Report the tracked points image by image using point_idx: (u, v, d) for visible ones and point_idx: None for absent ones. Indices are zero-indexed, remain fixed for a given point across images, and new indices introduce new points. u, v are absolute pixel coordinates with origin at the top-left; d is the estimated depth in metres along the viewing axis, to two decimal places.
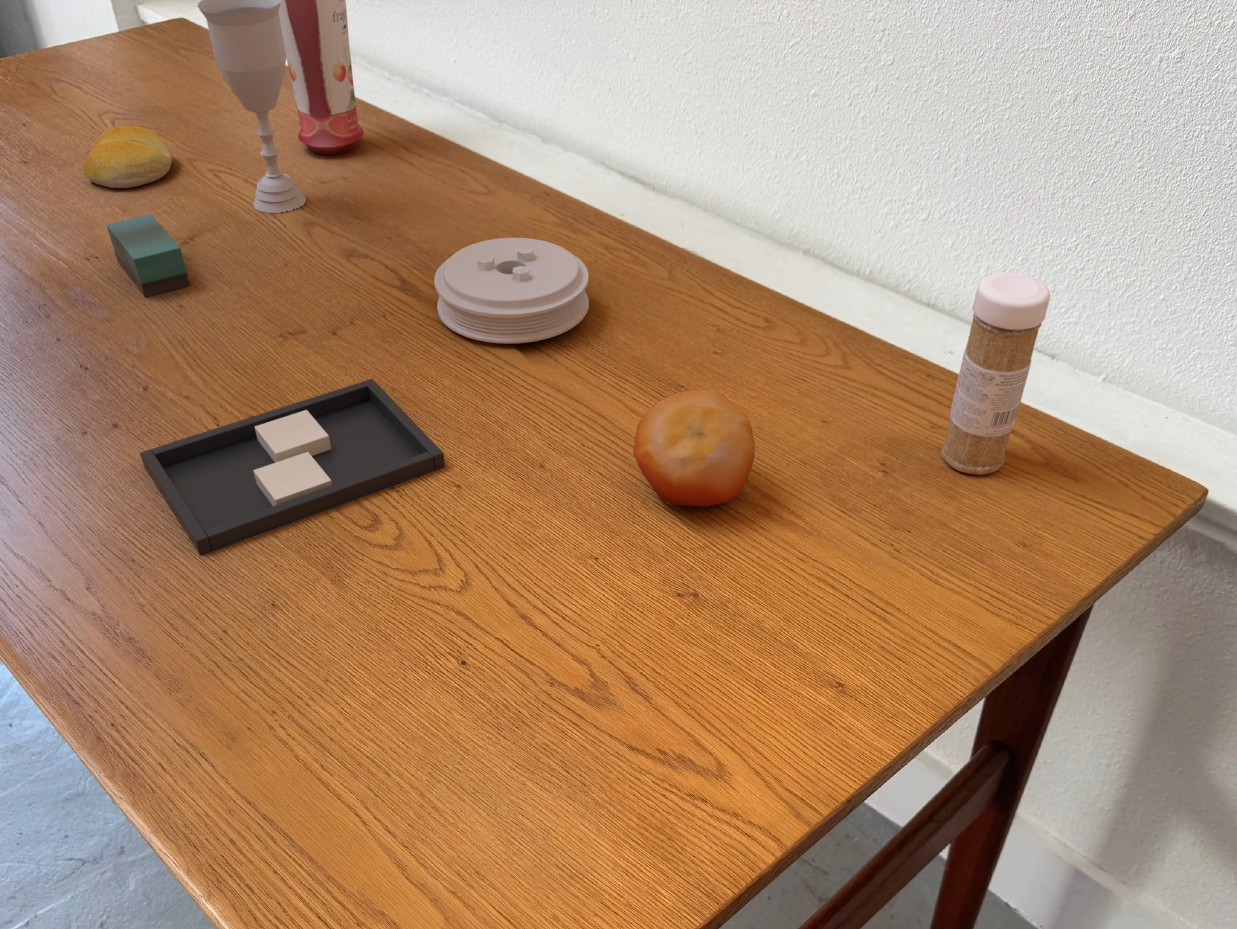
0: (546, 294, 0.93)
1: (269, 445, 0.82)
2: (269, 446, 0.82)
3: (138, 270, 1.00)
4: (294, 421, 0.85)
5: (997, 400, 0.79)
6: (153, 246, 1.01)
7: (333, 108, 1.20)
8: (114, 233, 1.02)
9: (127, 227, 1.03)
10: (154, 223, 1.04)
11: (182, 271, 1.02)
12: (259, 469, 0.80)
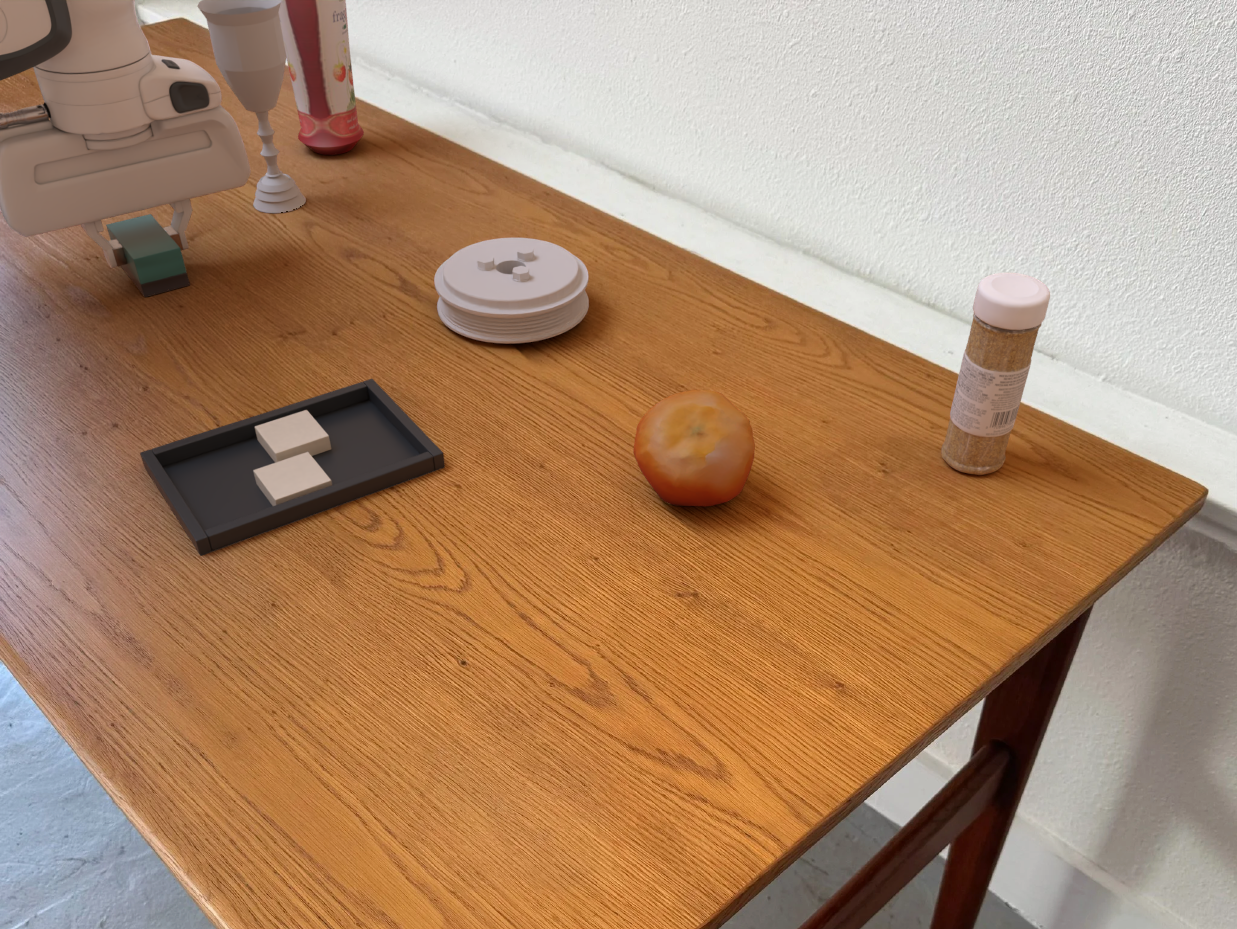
0: (546, 294, 0.93)
1: (269, 445, 0.82)
2: (269, 446, 0.82)
3: (138, 270, 1.00)
4: (294, 421, 0.85)
5: (997, 400, 0.79)
6: (152, 246, 1.01)
7: (333, 108, 1.20)
8: (114, 233, 1.02)
9: (127, 227, 1.03)
10: (154, 223, 1.04)
11: (182, 271, 1.02)
12: (259, 469, 0.80)
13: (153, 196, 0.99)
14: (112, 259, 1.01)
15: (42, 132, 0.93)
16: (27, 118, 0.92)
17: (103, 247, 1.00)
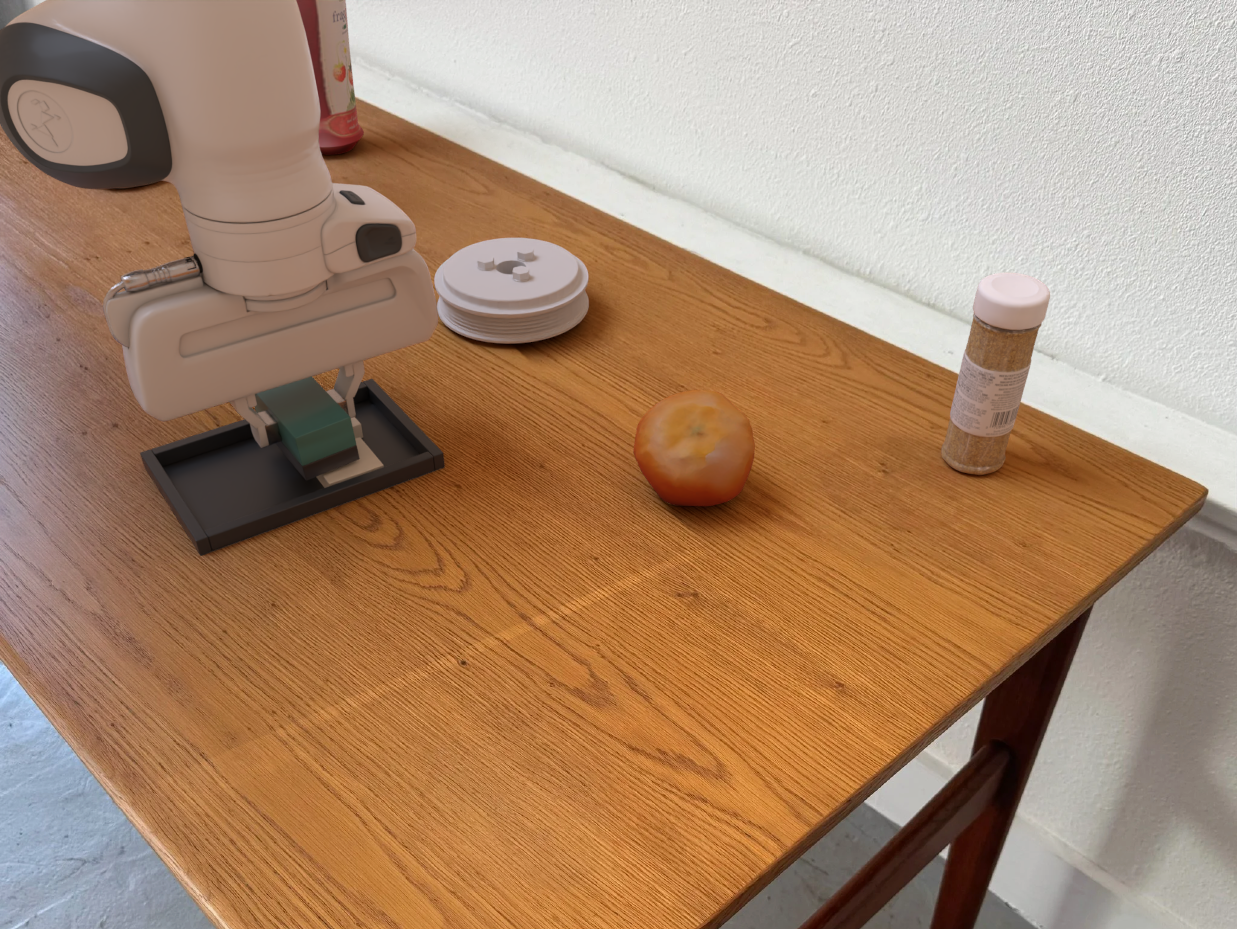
0: (546, 294, 0.93)
1: None
2: None
3: (299, 449, 0.77)
4: None
5: (997, 400, 0.79)
6: (315, 416, 0.78)
7: (333, 108, 1.20)
8: (261, 397, 0.80)
9: None
10: (308, 379, 0.82)
11: (351, 444, 0.79)
12: None
13: (321, 361, 0.77)
14: (264, 438, 0.79)
15: (191, 291, 0.70)
16: (173, 275, 0.69)
17: (254, 424, 0.78)
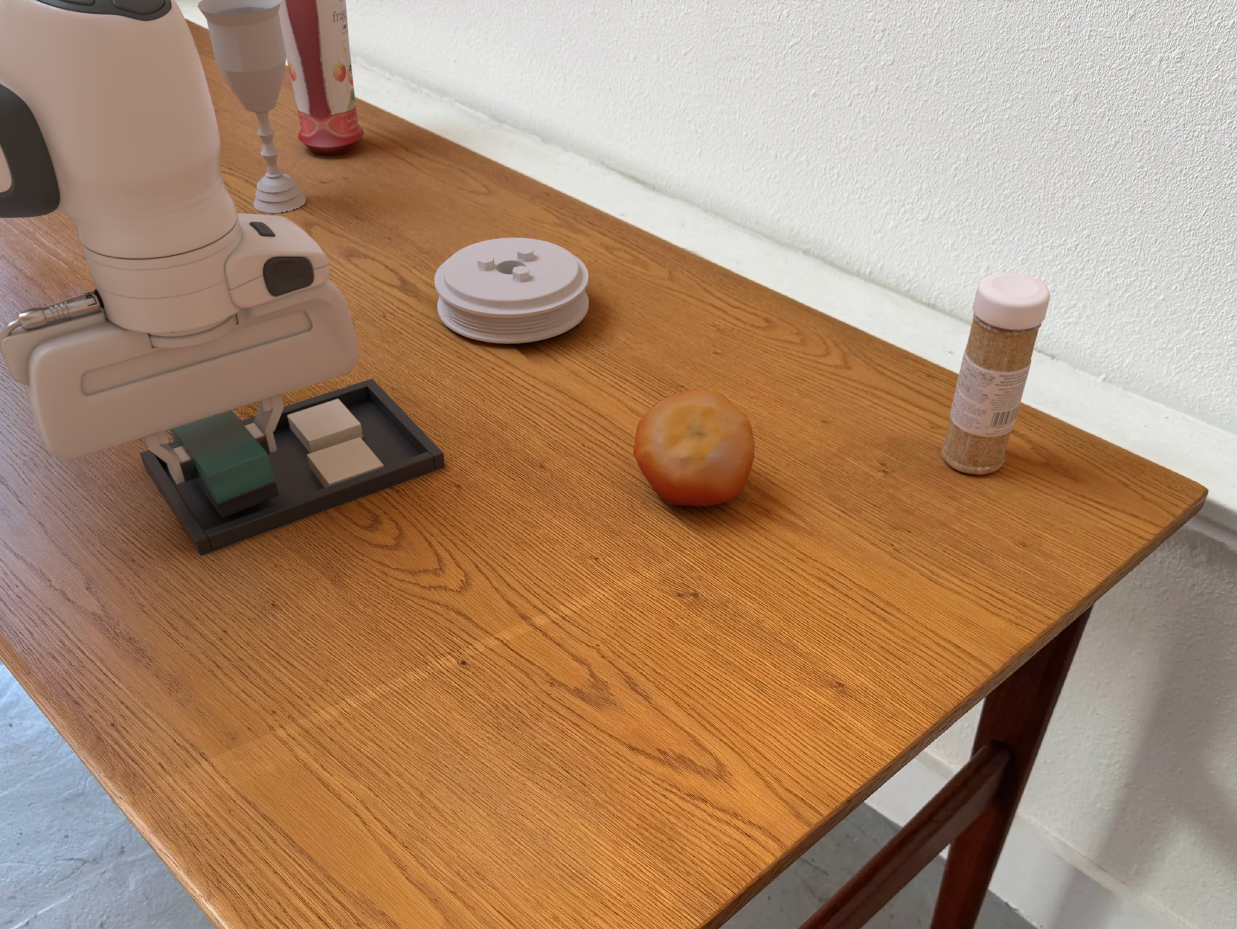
0: (546, 294, 0.93)
1: (302, 433, 0.83)
2: (302, 434, 0.84)
3: (213, 487, 0.75)
4: (326, 410, 0.86)
5: (997, 400, 0.79)
6: (230, 452, 0.76)
7: (333, 108, 1.20)
8: (177, 432, 0.78)
9: None
10: (227, 413, 0.79)
11: (269, 480, 0.77)
12: (312, 453, 0.82)
13: (235, 396, 0.75)
14: (179, 474, 0.77)
15: (92, 328, 0.68)
16: (73, 312, 0.67)
17: (168, 461, 0.76)
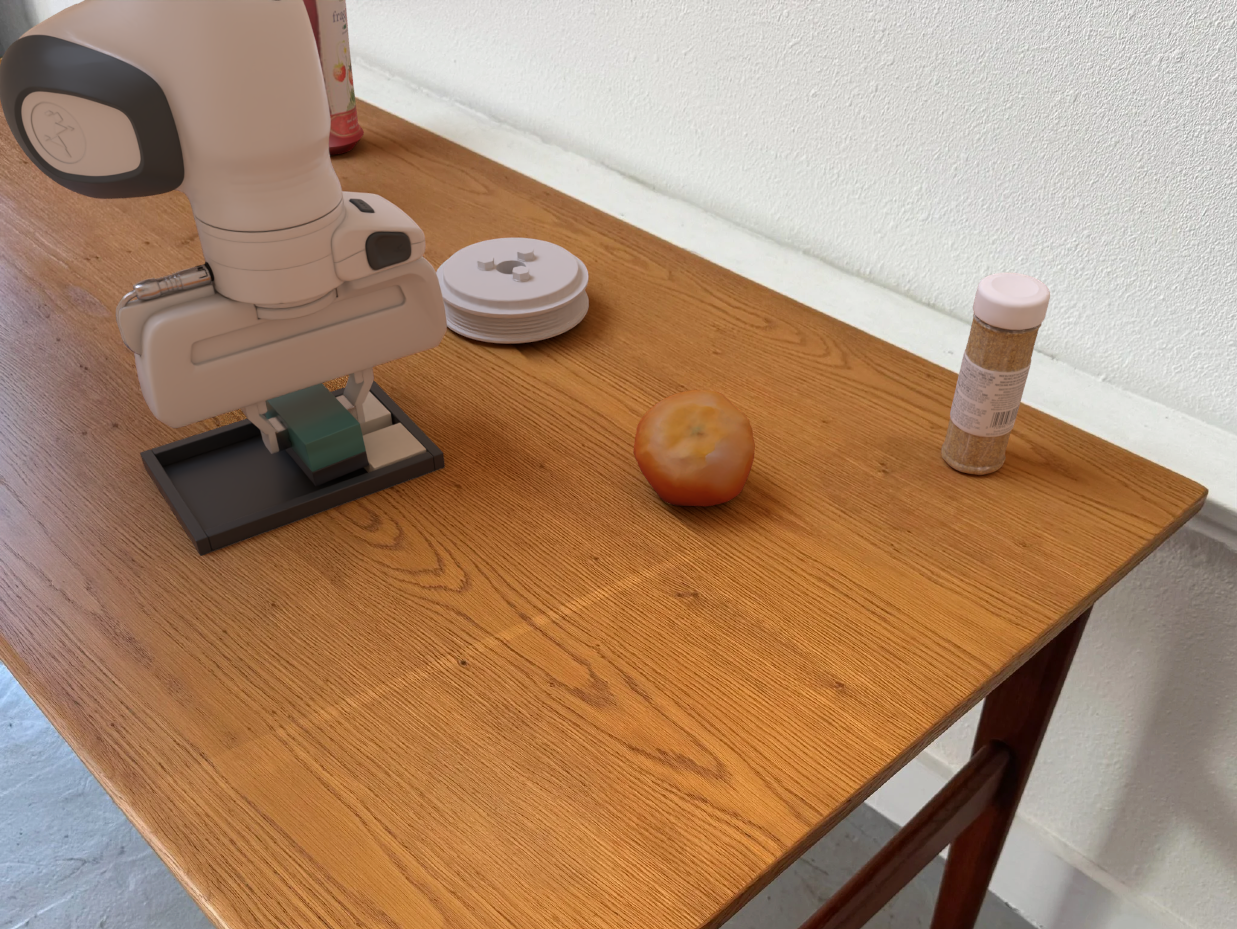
0: (546, 294, 0.93)
1: None
2: None
3: (309, 456, 0.78)
4: None
5: (997, 400, 0.79)
6: (325, 422, 0.79)
7: (333, 108, 1.20)
8: (271, 403, 0.81)
9: None
10: (318, 386, 0.82)
11: (361, 450, 0.80)
12: None
13: (331, 368, 0.77)
14: (274, 444, 0.79)
15: (202, 299, 0.71)
16: (185, 283, 0.70)
17: (264, 431, 0.78)
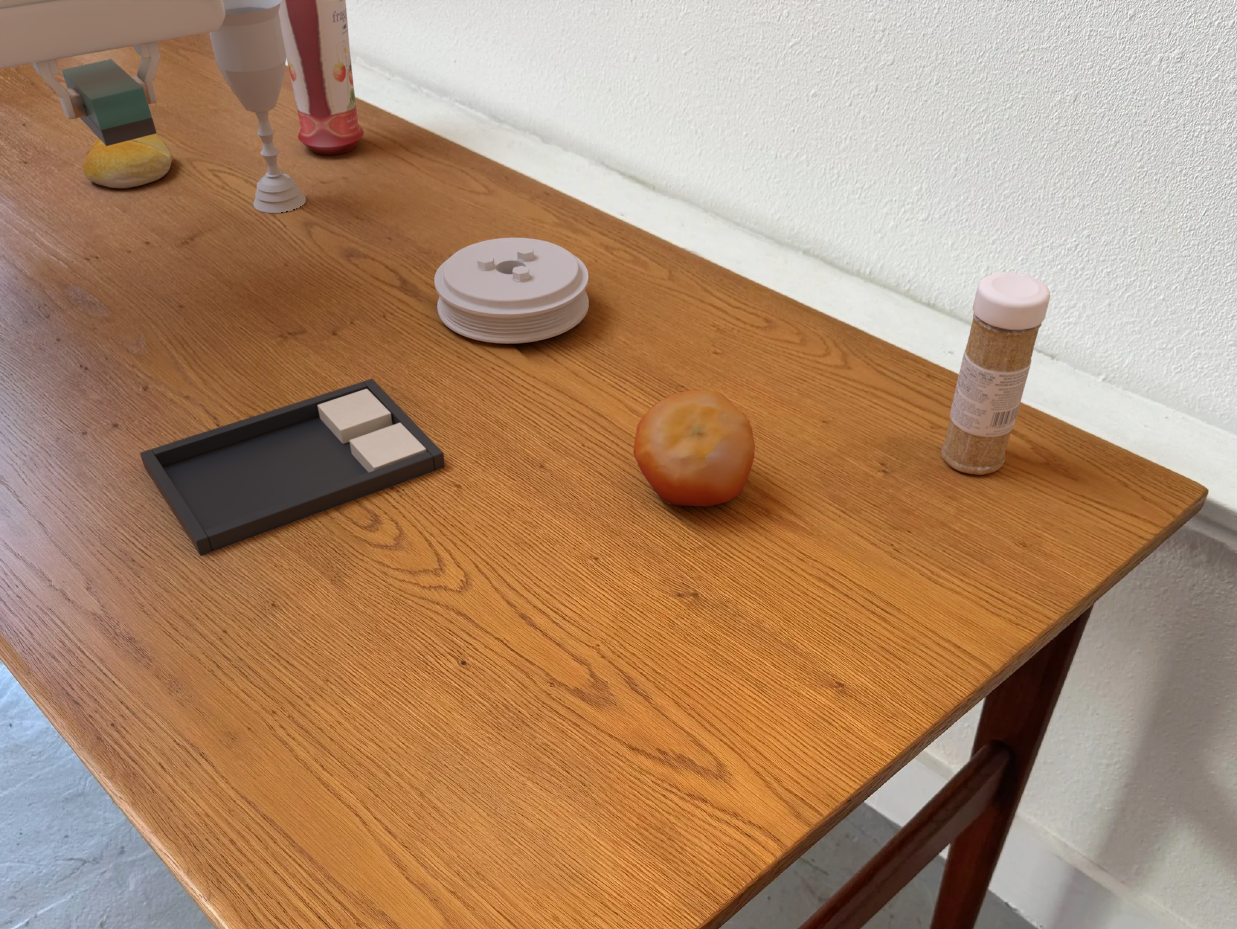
0: (546, 294, 0.93)
1: (333, 423, 0.84)
2: (333, 423, 0.85)
3: (96, 113, 0.89)
4: (356, 399, 0.87)
5: (997, 400, 0.79)
6: (113, 87, 0.90)
7: (333, 108, 1.20)
8: (70, 77, 0.92)
9: (84, 71, 0.93)
10: (114, 67, 0.93)
11: (147, 116, 0.91)
12: (355, 439, 0.83)
13: (115, 35, 0.89)
14: (69, 108, 0.91)
15: None
16: None
17: (59, 93, 0.90)
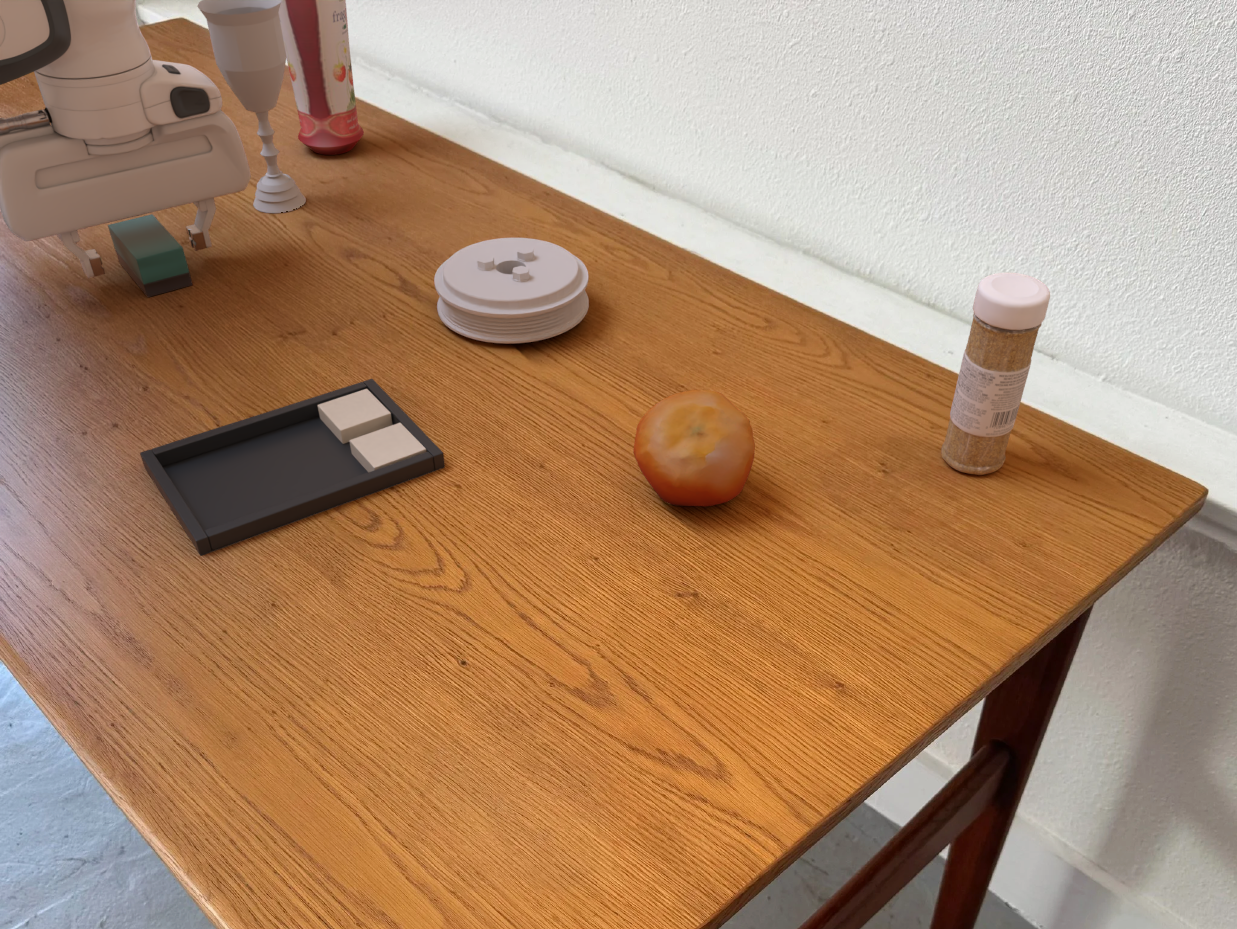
0: (546, 294, 0.93)
1: (333, 423, 0.84)
2: (333, 423, 0.85)
3: (140, 270, 1.00)
4: (356, 399, 0.87)
5: (997, 400, 0.79)
6: (155, 246, 1.01)
7: (333, 108, 1.20)
8: (116, 233, 1.02)
9: (128, 227, 1.03)
10: (155, 223, 1.04)
11: (184, 271, 1.02)
12: (355, 439, 0.83)
13: (154, 200, 0.99)
14: (89, 269, 1.00)
15: (43, 137, 0.93)
16: (28, 123, 0.92)
17: (80, 257, 0.99)
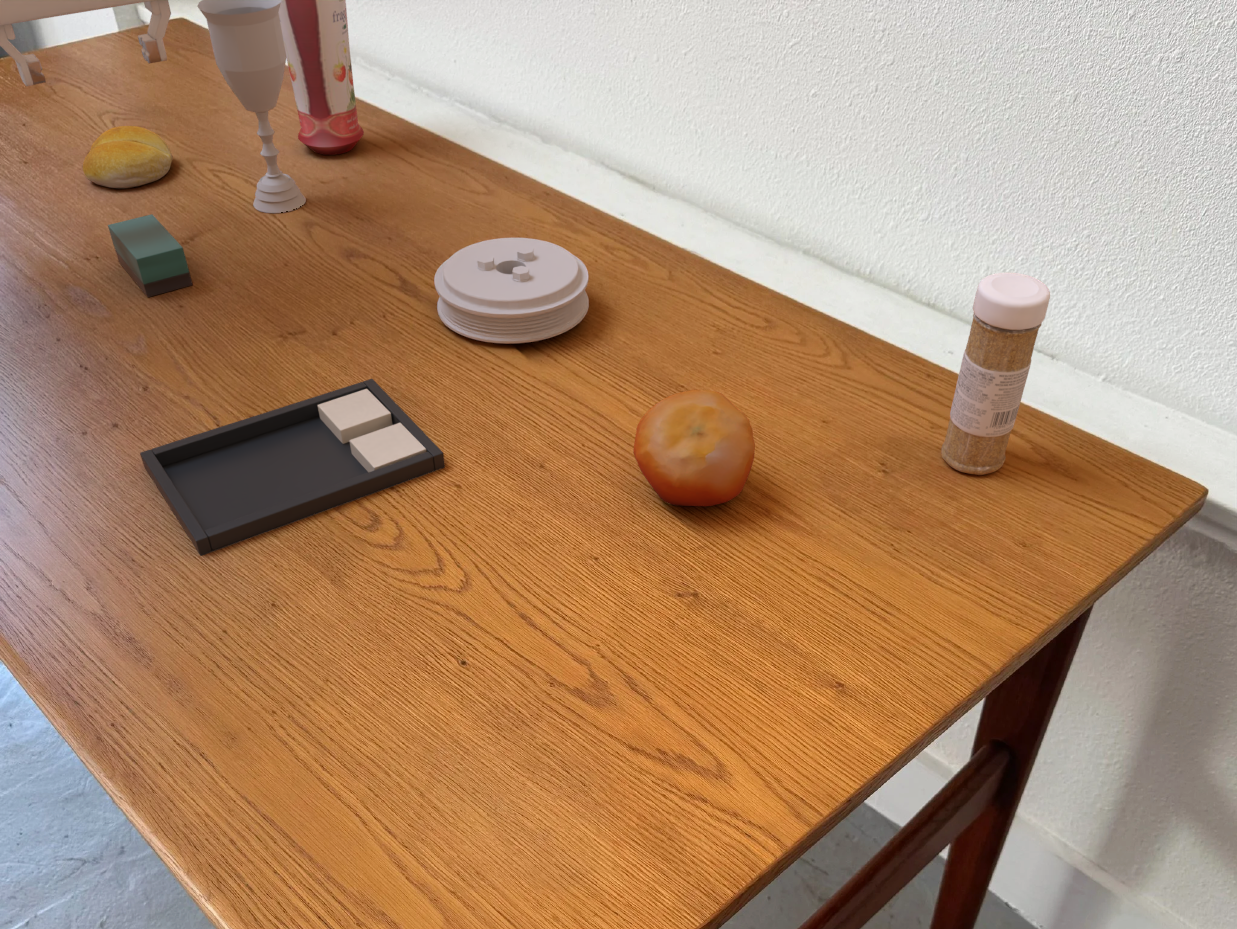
0: (546, 294, 0.93)
1: (333, 423, 0.84)
2: (333, 423, 0.85)
3: (140, 270, 1.00)
4: (356, 399, 0.87)
5: (997, 400, 0.79)
6: (155, 246, 1.01)
7: (333, 108, 1.20)
8: (116, 233, 1.02)
9: (128, 227, 1.03)
10: (155, 223, 1.04)
11: (184, 271, 1.02)
12: (355, 439, 0.83)
13: None
14: (27, 75, 0.90)
15: None
16: None
17: (16, 59, 0.89)
